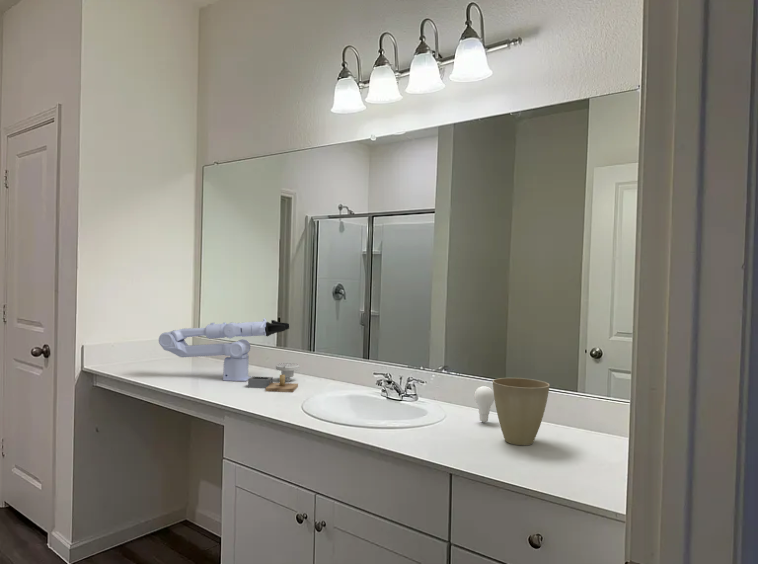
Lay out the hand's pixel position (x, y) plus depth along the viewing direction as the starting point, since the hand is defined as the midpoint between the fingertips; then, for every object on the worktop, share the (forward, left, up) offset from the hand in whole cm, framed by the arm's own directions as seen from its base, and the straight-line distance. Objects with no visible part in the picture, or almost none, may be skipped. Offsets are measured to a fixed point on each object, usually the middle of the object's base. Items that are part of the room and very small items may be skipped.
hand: (287, 327), depth 224 cm
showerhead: (+1, 0, -22) cm, 22 cm away
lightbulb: (+72, -52, -22) cm, 91 cm away
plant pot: (+79, -70, -22) cm, 108 cm away
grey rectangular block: (-7, -12, -22) cm, 26 cm away
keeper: (+2, -15, -22) cm, 26 cm away
